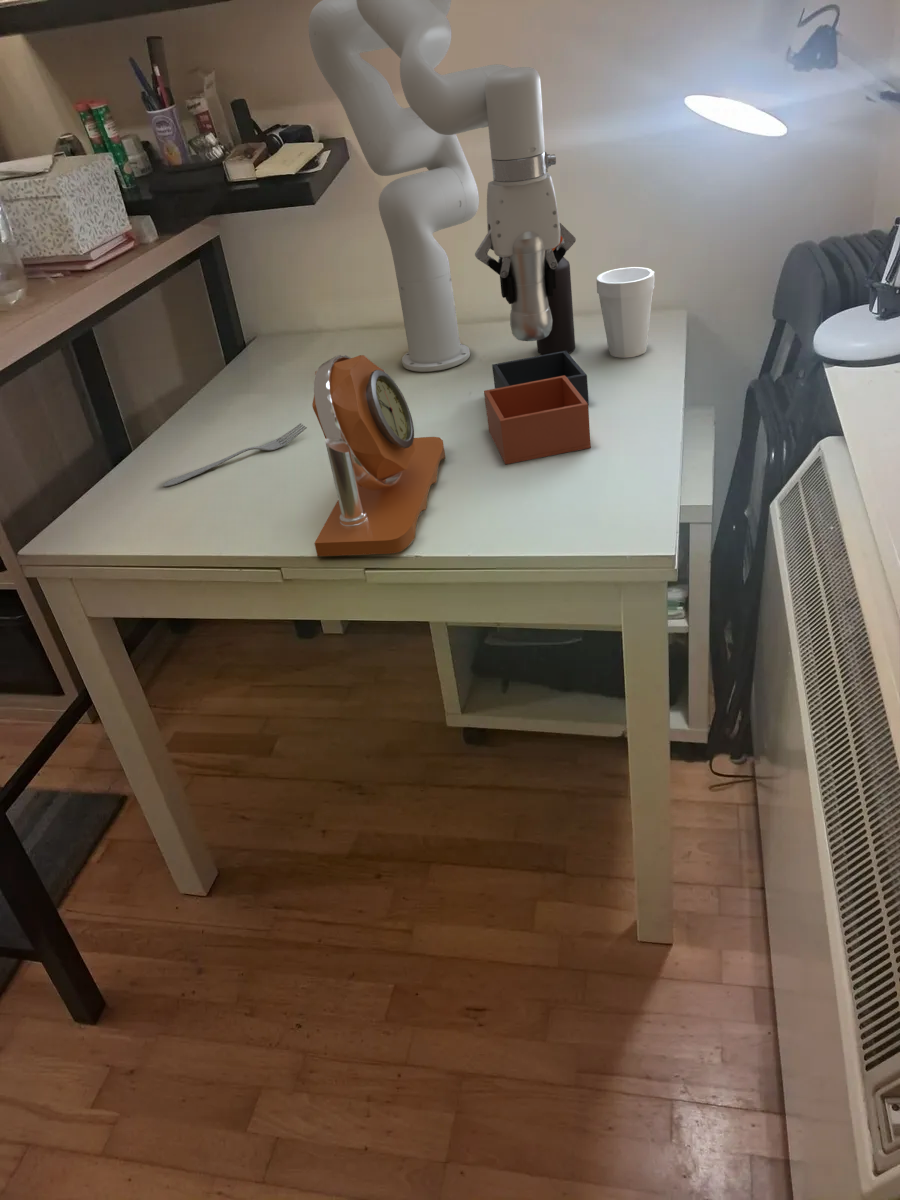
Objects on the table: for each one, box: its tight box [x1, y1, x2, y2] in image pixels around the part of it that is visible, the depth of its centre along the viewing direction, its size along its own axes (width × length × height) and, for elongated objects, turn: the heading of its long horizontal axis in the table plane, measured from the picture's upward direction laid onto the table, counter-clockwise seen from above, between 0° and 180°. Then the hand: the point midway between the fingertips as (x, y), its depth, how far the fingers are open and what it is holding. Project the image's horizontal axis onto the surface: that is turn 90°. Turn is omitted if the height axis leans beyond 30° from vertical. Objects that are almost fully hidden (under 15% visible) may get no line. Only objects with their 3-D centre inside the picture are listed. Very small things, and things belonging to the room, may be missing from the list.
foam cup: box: [595, 266, 656, 359], centre depth 159 cm, size 10×9×13 cm
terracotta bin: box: [483, 375, 592, 465], centre depth 136 cm, size 12×12×7 cm
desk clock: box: [311, 354, 446, 557], centre depth 122 cm, size 12×30×20 cm, turn 171°
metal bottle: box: [509, 231, 553, 342], centre depth 140 cm, size 6×7×20 cm
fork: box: [162, 422, 308, 488], centre depth 146 cm, size 3×24×2 cm, turn 122°
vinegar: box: [536, 236, 576, 356], centre depth 163 cm, size 7×7×20 cm
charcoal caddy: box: [491, 351, 590, 407], centre depth 149 cm, size 12×12×5 cm
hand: (529, 296), depth 142 cm, fingers closed on metal bottle, 5 cm apart
